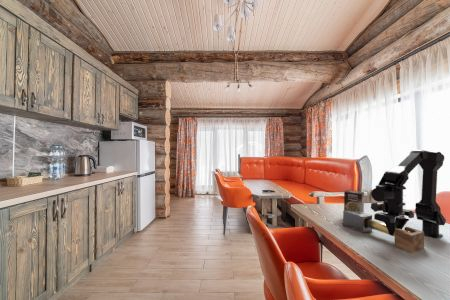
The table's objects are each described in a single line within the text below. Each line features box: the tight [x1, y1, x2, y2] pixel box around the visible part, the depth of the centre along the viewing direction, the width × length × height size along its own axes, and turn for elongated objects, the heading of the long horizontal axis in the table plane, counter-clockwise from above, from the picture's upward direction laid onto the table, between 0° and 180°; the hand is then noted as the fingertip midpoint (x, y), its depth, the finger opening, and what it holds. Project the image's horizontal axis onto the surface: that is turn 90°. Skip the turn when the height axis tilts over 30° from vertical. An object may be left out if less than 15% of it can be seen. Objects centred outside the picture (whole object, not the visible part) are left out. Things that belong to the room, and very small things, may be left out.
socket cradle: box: [394, 226, 425, 254], centre depth 87 cm, size 9×6×7 cm, turn 113°
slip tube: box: [365, 218, 412, 238], centre depth 96 cm, size 4×20×4 cm, turn 23°
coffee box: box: [343, 189, 365, 213], centre depth 121 cm, size 9×6×16 cm
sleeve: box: [342, 209, 373, 234], centre depth 108 cm, size 7×11×8 cm, turn 23°
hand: (394, 234), depth 92 cm, fingers closed on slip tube, 4 cm apart
